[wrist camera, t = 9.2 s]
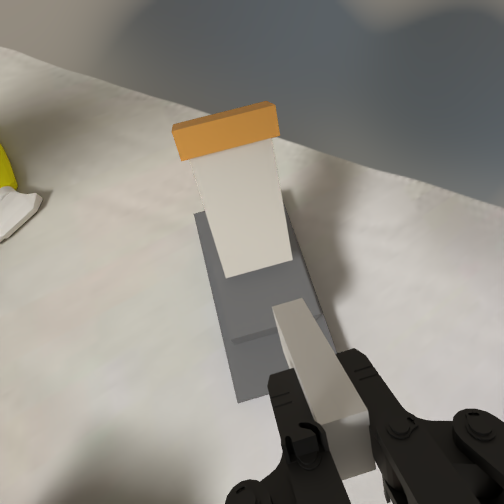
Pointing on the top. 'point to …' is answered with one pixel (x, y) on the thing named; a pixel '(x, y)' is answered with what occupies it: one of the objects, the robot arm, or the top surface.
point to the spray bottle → (13, 200)
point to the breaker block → (256, 311)
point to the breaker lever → (239, 184)
